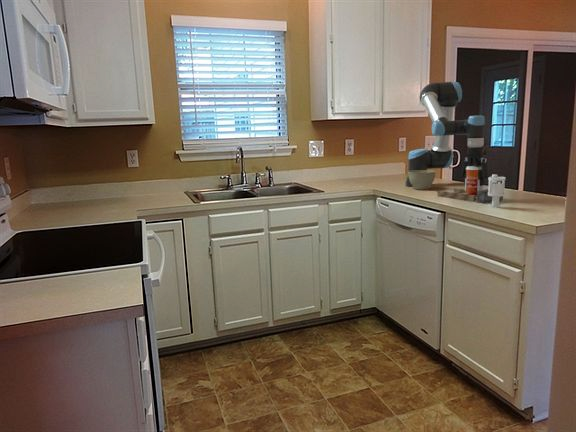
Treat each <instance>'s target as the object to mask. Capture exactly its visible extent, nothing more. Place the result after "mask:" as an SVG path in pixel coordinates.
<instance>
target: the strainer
mask: <svg viewBox="0 0 576 432" xmlns="http://www.w3.org/2000/svg"><path fill="white" fill-rule="evenodd" d="M487 179H488V188H487V189H488V196H492V202H491V208H494V207H498V208H500V201H499V198H500V196H503V197H504V196H505V184H506V177H505V176H498V174H492V175H491V176H489V177H488V178H487Z"/></svg>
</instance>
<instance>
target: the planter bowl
mask: <svg viewBox="0 0 576 432" xmlns="http://www.w3.org/2000/svg"><path fill="white" fill-rule="evenodd" d="M407 173H408V174H409V180H410V183H411V184H412V186H413V187H412V189H413V190H422V191H423V190H429V189H430V187H431V186H432V184H433V183H434V181H435V177H436V173H437V171H435V170H431V169H427V170H413V171H407ZM408 174H407V175H408Z"/></svg>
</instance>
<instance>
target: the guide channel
mask: <svg viewBox="0 0 576 432" xmlns="http://www.w3.org/2000/svg"><path fill="white" fill-rule="evenodd" d="M437 197H441V198H448V199H453V200H458V201H459V200H460V201H466V202H472V203H475V202H476V203H478V204H483V205H484V204H489V203H492V196H488V188H486V189H482V190H478V191H477V196H474V195H469V194H467V191H465V188H457V187H455V188H454V189H453V191H452V192H451V191H446V190H437ZM503 200H504V196H500V198H499V202H500V201H503Z"/></svg>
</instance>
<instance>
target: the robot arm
mask: <svg viewBox="0 0 576 432" xmlns="http://www.w3.org/2000/svg"><path fill="white" fill-rule="evenodd" d="M462 97H463V89H462V87H461V84H460V83H459V82H457V81H441V82H431V83H428V84H426V85H425V86H424V87H423V88H422V90H421V91H420V94H419V102H420V104H421V105H422V106H423V107H425V110H426V111H427V113H428V116H429V117H430V119H431V122H432V124H431V133H432V135H433V136H434V144H433V145H432V146H431V147H430V150H429V149H428V148H418V149H413V150H410V151H409V152H408V158H407V159H408V167H407V168H408V171H413V170H431V169H432V170H434V169H435V170H436V169H437V170H438V169H448V168H449V167H451V165H452V163H453V159H454V152H453V150H452V149H451V147H450V146H449V144H450V139H451V136H464V135H465V136H467V145H466V146H467V148H466V149H467V151H466V154H467V156H466V157H462V165H461V174H460V176H461V177H463V181H464V182H463V183H464V189H465V191H467V178H466V168H467V166H475V167H478V168H479V167H481V166H482V167H481V168H482V170H478V176H479V179H478V186H477V191H478V190H483V186H484V184H485V179H489V177H488V160H489V159H488V158H483V154H484V147H483V146H484V144H485V142H484V139H485V138H484V136H485V124H486V123H485V121H486V120H485V116H484V115H470V116H468V119H463V120H453V117H454V116H453V115H454V109H455V108H456V107H457V106H458V103H460V102H461V100H462ZM408 171H407V172H408ZM405 186H406V187H411V188H413V186H412V184H411V183H410V180H409V174H407V177H406V181H405Z"/></svg>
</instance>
